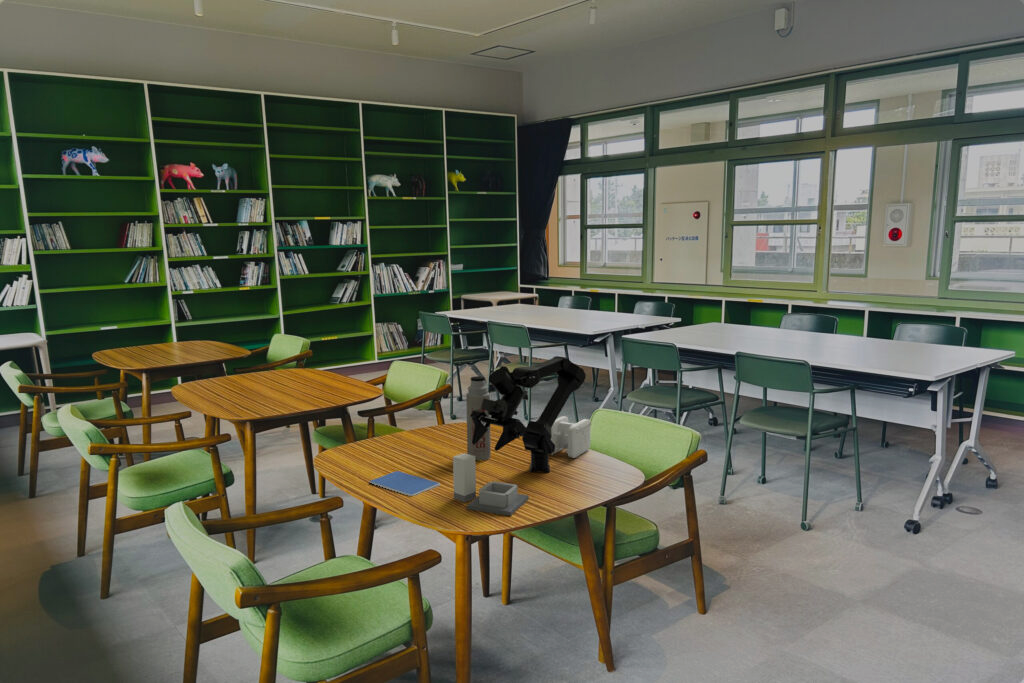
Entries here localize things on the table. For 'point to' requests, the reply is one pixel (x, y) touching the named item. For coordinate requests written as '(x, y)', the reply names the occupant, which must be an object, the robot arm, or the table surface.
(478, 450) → the thermos bottle
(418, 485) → the blue spiral notebook
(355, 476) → the table surface
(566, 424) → the cable organizer
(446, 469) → the table surface
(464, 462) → the plug
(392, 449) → the table surface
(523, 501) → the socket
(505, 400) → the robot arm
